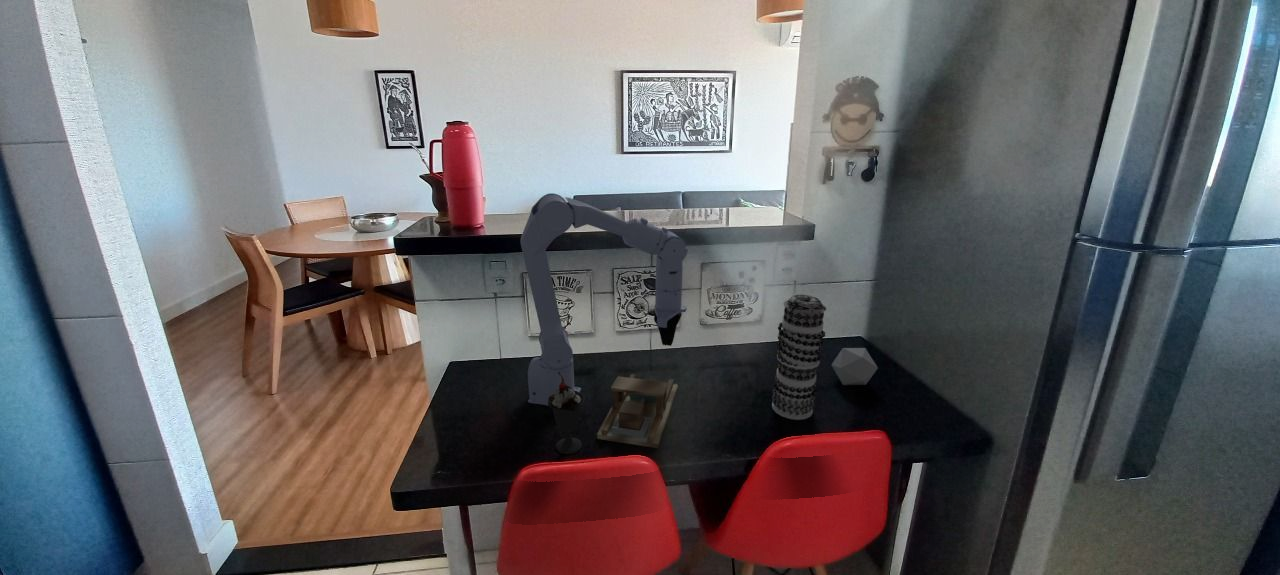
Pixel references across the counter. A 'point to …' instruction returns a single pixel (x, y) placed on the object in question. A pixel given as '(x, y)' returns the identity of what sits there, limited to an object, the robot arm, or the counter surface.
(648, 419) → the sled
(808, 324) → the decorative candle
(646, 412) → the tunnel board
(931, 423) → the counter surface
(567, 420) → the sundae
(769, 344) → the counter surface
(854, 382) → the die
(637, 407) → the walnut block
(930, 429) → the counter surface
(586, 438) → the counter surface
